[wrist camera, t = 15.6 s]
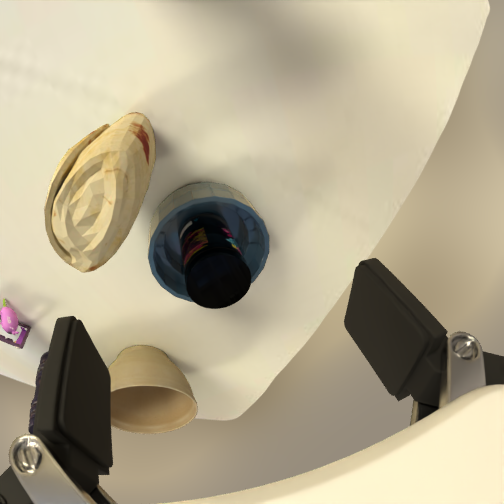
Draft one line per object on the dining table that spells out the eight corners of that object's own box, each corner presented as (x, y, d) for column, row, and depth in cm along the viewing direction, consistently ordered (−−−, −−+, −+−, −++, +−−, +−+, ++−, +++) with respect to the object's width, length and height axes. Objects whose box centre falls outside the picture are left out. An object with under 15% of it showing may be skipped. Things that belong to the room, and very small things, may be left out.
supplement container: (213, 264, 42) (230, 315, 33) (169, 246, 38) (174, 297, 30) (239, 223, 40) (264, 268, 31) (194, 202, 36) (206, 244, 28)
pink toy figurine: (-27, 332, 29) (21, 353, 33) (-25, 302, 29) (25, 323, 33) (-14, 314, 35) (30, 332, 39) (-11, 287, 34) (34, 305, 39)
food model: (131, 192, 34) (112, 302, 18) (83, 171, 31) (19, 266, 14) (170, 119, 31) (180, 163, 15) (119, 95, 28) (66, 110, 11)
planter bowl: (158, 394, 55) (164, 440, 46) (86, 367, 46) (82, 418, 38) (205, 352, 52) (218, 403, 43) (125, 315, 43) (124, 372, 34)
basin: (139, 190, 34) (137, 209, 30) (254, 173, 37) (269, 188, 33) (160, 285, 42) (162, 311, 37) (257, 267, 45) (269, 290, 40)
